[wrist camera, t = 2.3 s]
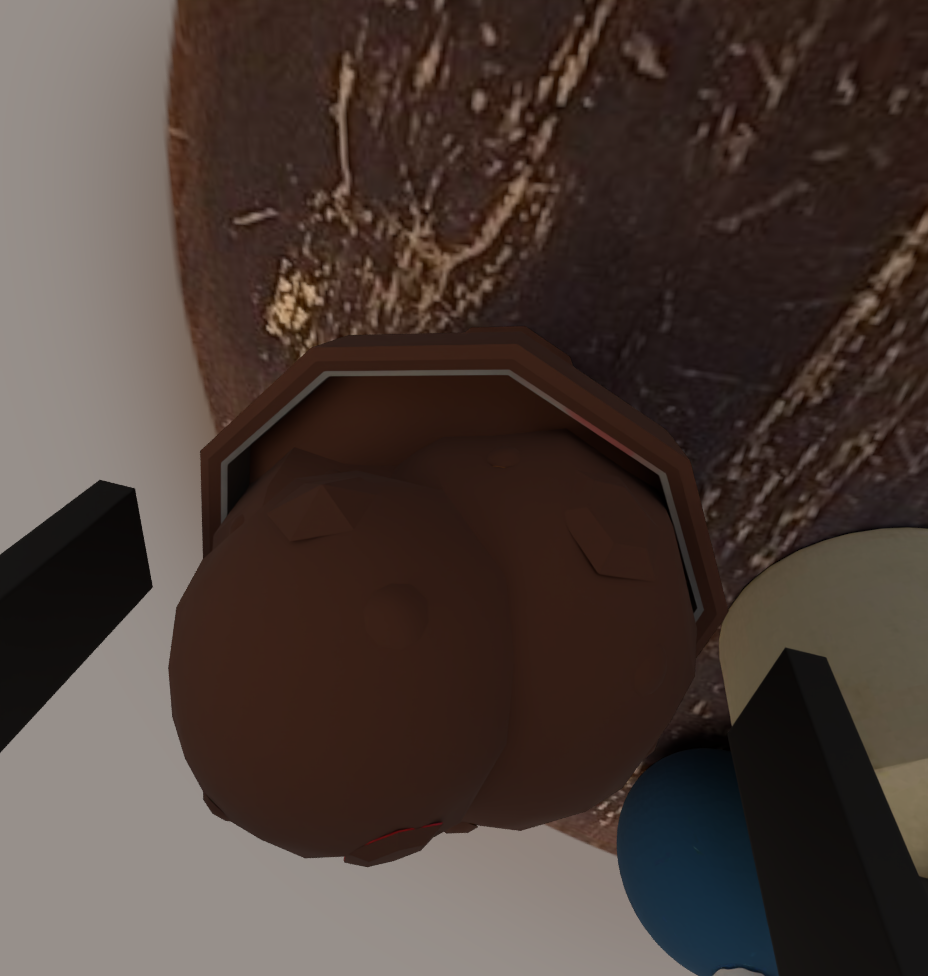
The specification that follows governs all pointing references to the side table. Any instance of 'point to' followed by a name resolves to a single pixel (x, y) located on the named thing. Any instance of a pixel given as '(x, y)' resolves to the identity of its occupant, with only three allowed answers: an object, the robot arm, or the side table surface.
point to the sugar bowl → (851, 650)
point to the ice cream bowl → (435, 596)
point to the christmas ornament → (695, 866)
